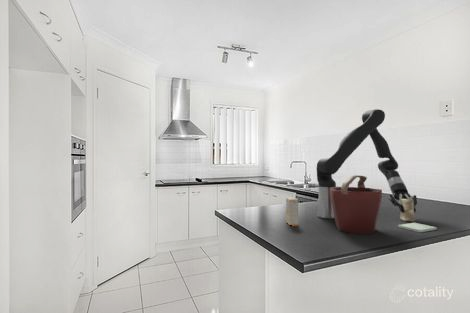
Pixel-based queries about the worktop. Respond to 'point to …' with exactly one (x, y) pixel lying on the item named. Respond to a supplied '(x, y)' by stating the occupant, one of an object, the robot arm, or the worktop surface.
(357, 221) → the bucket
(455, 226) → the worktop surface
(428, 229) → the sage board
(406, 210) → the maple block
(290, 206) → the supplement box
